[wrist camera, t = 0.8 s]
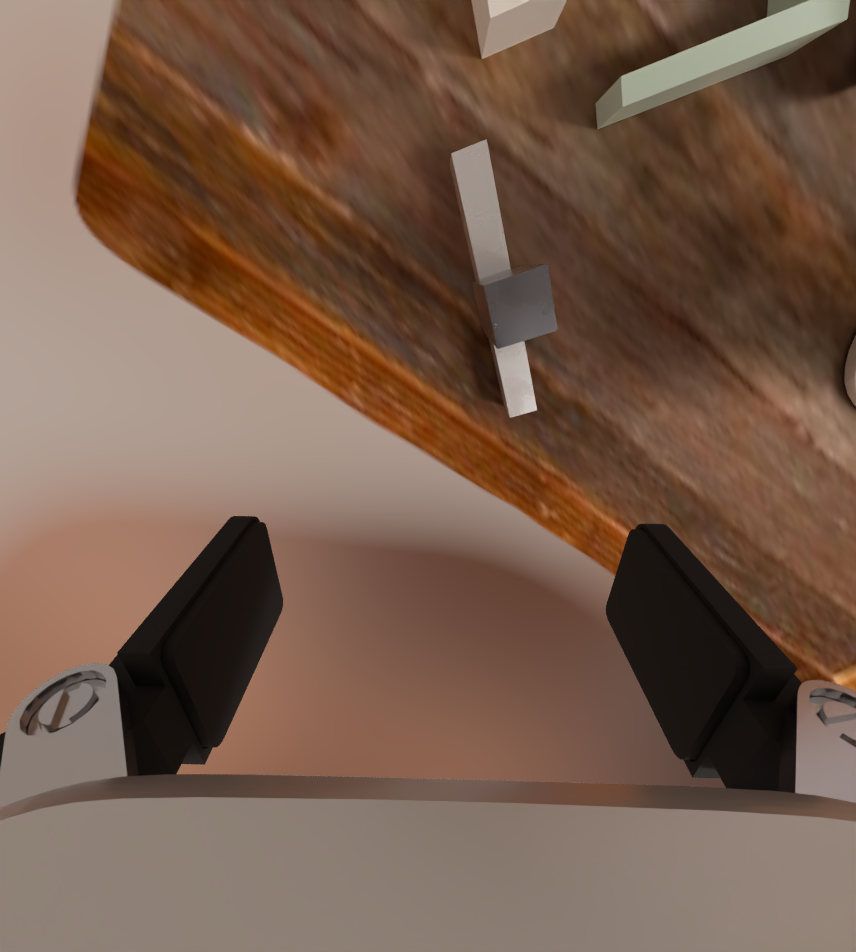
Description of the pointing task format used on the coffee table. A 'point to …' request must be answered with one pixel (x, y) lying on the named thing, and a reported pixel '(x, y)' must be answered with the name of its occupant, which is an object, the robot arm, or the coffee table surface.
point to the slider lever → (501, 280)
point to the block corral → (721, 57)
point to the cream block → (512, 21)
